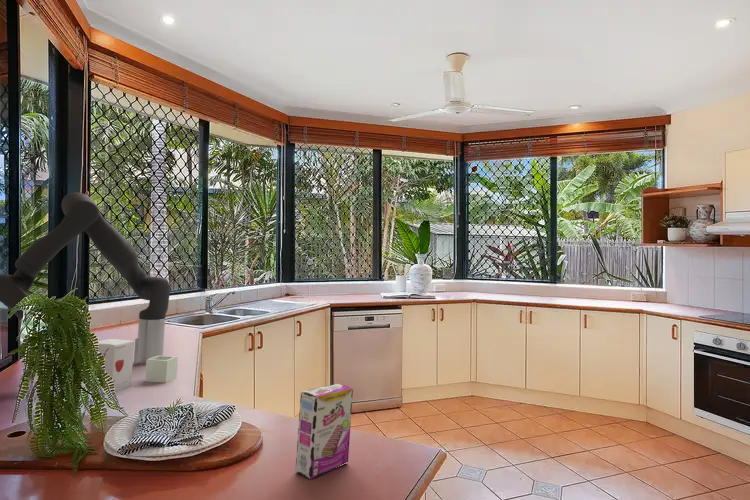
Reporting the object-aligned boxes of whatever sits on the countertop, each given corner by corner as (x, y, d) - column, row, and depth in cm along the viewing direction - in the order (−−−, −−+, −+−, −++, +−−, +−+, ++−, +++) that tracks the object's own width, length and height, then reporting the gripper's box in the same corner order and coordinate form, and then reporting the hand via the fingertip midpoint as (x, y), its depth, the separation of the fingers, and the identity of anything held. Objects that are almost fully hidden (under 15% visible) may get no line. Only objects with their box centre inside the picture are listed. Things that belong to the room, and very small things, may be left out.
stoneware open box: (145, 384, 156) (146, 359, 156) (156, 379, 163) (157, 355, 163) (165, 385, 156) (167, 360, 156) (176, 380, 163) (177, 356, 163)
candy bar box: (311, 481, 94) (316, 396, 94) (294, 473, 97) (298, 391, 97) (350, 464, 103) (354, 387, 103) (333, 457, 106) (337, 382, 106)
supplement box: (110, 395, 142) (114, 344, 142) (84, 392, 144) (88, 342, 144) (132, 388, 151) (135, 340, 151) (107, 385, 153) (110, 338, 153)
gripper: (33, 320, 143) (70, 364, 141) (65, 315, 156) (99, 355, 155) (15, 336, 143) (51, 381, 142) (49, 330, 156) (82, 371, 155)
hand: (76, 367), depth 148 cm, fingers closed
